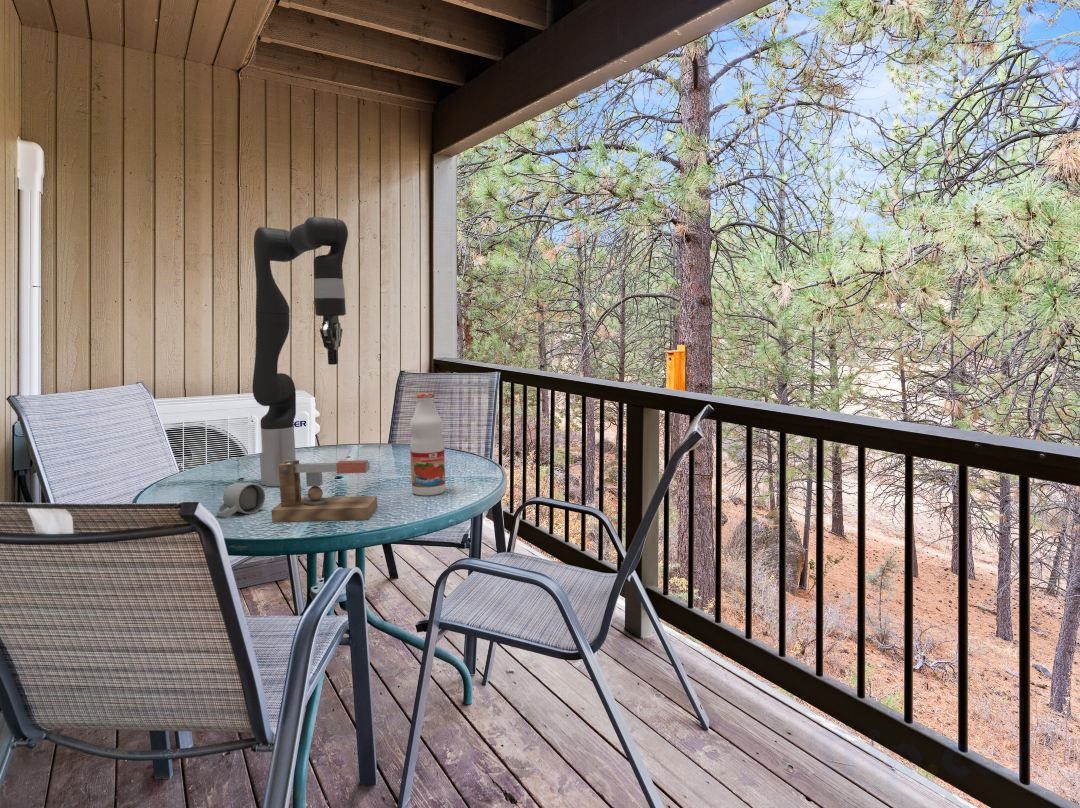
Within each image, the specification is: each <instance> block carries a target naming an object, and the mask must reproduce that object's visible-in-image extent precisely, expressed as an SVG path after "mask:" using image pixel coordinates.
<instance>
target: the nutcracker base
mask: <svg viewBox="0 0 1080 808" xmlns="http://www.w3.org/2000/svg"><path fill="white" fill-rule="evenodd" d="M284 462H285V464H279V480H280V486H279V490H280V491H279V492H280V493H279V495H280V503H279V504H278V505H276V506H274V507H273V508H272V509H271V512H270V513H271V522H272V523H291V522H292V523H294V522H295V523H298V522H326V521H327V522H330V521H331V522H333V521H363V520H365V521H366V520H369V519H370V518H371V517H372V516H373V514H374V513H375V511H376V510H377V508H378V496H377V495H372V496H369V495H368V496H331V497H330V496H329V497H323V494H324V492H323V489H322V488H321V486H310V487H309V488H308V489H307V497H302V491H301V490H302V489H301V488H302V487H301V475H300V474H301V473H294V464H286V463H288V462H293V463H295V464H300V460H299V459H296V460H286V461H284Z"/></svg>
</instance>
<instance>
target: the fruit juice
mask: <svg viewBox="0 0 1080 808" xmlns="http://www.w3.org/2000/svg"><path fill="white" fill-rule="evenodd" d="M415 398H416V400H417V402H416V406H415V410H414V413H413V416H412V418H411V420H410V422H409V431H410V433H411V438H410V443H409V444H410V445H409V453H410V476H411V481H410V482H411V492H412V493H413V495H417V496H427V497H428V496H435V495H441V494H443V493H444V492H445V490H446V464H445V462H446V461H445V443H444V442H445V441H444V438H443V435H442V433H443V429H444V424H443V419H442V418H441V417H440V414H439V413H438V410H437V408H436V405H435V402H434V399H435V394H434V393H433V392H418V393H416V395H415Z"/></svg>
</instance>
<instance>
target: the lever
mask: <svg viewBox="0 0 1080 808" xmlns="http://www.w3.org/2000/svg"><path fill="white" fill-rule="evenodd" d="M286 464H294V473H300V474H301V473H302V474H304V473H305V476H306V479H305V480H306V487H313V486H318V487H321V486H322V485H323V481H324V480H323V473H336V474H366V473H367V472H369V470H370V469H371V465H370V464H371V463H370V461H368V459H366V460H365V459H361V460H358V459H357V460H338V461H337V462H311V463H305V462H304V463H299V464H295V463H293V462H288V463H286Z"/></svg>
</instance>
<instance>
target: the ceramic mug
mask: <svg viewBox="0 0 1080 808" xmlns="http://www.w3.org/2000/svg"><path fill="white" fill-rule="evenodd" d="M222 498H223V503H222V504H221V505H219V507H217V508H216V514H217V515H218V517H219V518H227V517H229V516H232V515H234V514H235V513H236V512H239V513H242V514H246V515H252V514H256V513H257V512H259V511H260V510H261V509H262V508H263V506H264V504H265V501H266V494H265V490H264V488H263V487H262V486H261V485H260V484H258V483H255V482H235V483H231V484H230V485H228V486H227V487H226V489H225V490H224V492H223V496H222ZM226 509H227V510H226Z"/></svg>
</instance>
